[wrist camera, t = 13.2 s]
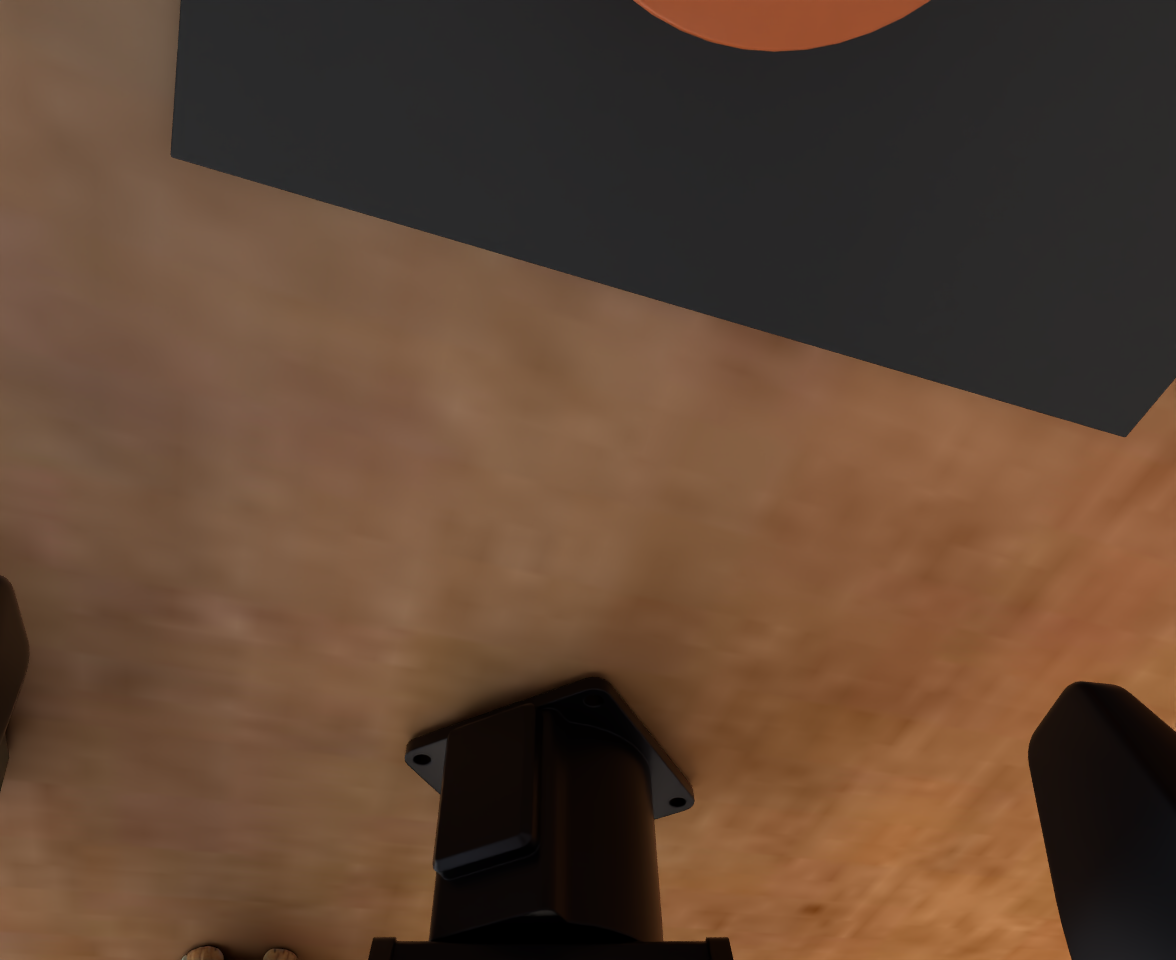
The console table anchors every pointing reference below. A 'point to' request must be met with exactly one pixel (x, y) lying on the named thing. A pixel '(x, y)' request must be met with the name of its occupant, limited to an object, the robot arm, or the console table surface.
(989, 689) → the console table surface
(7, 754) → the tentacle
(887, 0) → the disc
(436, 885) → the robot arm
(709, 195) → the mat
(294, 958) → the lion figurine
